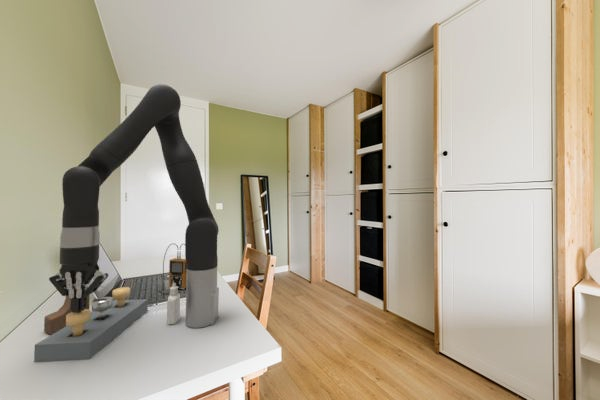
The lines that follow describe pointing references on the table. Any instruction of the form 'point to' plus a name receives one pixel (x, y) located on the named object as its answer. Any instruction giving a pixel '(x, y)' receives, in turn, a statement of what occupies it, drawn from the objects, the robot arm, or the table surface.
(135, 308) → the panel
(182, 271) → the multimeter
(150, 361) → the table surface
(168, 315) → the eye dropper bottle
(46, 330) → the wooden block
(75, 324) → the knob left
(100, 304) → the dial middle
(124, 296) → the knob right
